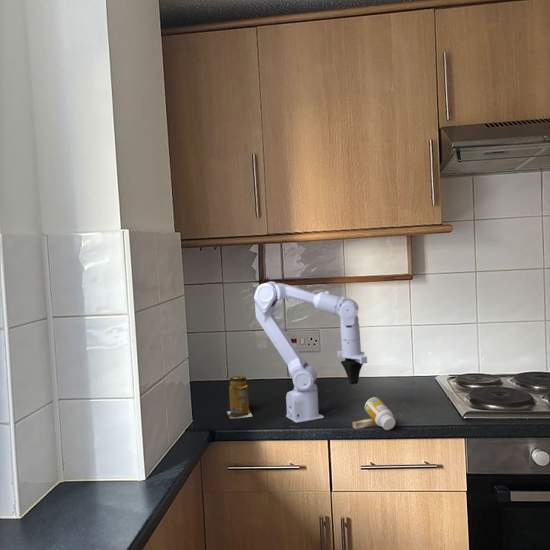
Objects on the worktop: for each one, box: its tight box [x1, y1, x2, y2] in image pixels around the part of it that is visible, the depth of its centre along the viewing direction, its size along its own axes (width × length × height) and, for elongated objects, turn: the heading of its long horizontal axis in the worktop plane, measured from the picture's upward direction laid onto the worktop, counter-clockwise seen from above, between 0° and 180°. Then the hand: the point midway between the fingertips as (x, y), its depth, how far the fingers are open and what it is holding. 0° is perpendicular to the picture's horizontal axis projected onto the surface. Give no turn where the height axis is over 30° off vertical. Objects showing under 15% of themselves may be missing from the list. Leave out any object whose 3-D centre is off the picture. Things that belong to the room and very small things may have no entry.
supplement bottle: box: [364, 396, 396, 431], centre depth 164 cm, size 5×5×10 cm
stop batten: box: [352, 415, 395, 430], centre depth 166 cm, size 13×2×2 cm, turn 112°
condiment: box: [226, 375, 253, 419], centre depth 184 cm, size 7×8×12 cm
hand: (353, 383), depth 174 cm, fingers closed
